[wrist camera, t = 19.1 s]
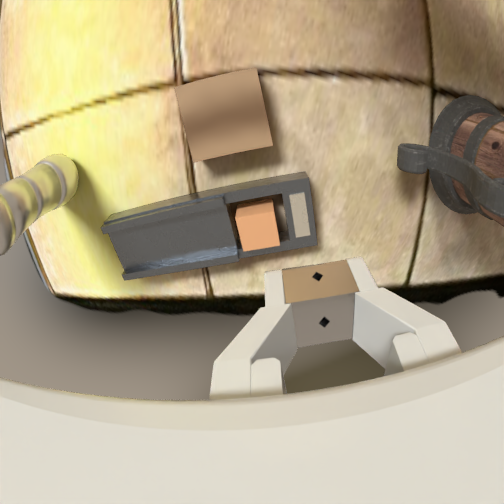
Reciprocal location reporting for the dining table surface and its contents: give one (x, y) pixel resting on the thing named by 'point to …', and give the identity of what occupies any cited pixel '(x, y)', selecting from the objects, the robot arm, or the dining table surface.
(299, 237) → the grey slotted tray
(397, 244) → the dining table surface
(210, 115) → the brown square plate
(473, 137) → the tankard
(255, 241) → the peach foam cube
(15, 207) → the plastic bottle
